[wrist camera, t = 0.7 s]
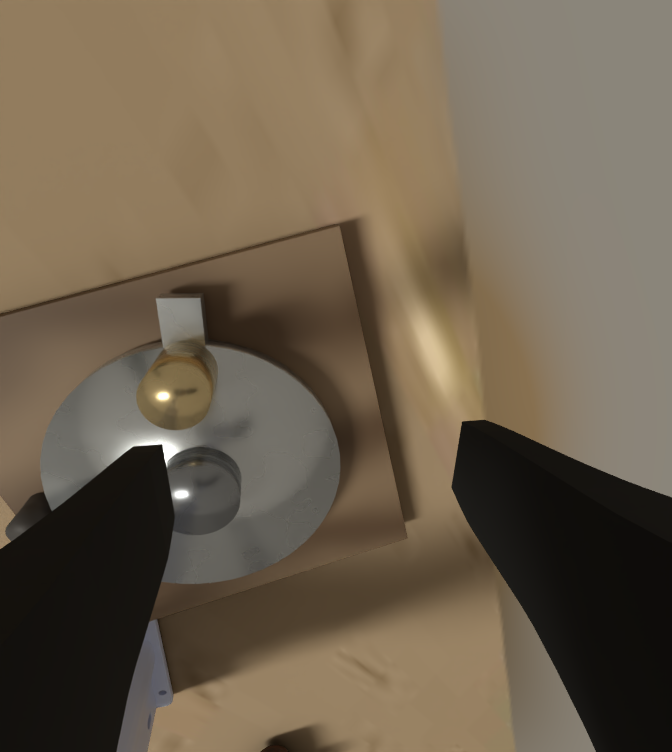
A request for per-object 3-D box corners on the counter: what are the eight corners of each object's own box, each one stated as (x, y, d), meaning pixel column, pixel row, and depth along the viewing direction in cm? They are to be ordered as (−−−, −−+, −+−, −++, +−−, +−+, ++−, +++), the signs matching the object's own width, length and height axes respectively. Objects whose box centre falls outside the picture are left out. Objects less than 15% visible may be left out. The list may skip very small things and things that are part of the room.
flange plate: (333, 552, 23) (346, 614, 19) (86, 582, 21) (51, 657, 17) (342, 291, 17) (363, 313, 14) (0, 294, 15) (-78, 321, 12)
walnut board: (401, 523, 25) (418, 562, 22) (114, 615, 24) (96, 668, 21) (334, 224, 17) (348, 228, 15) (-89, 337, 16) (-159, 364, 14)
